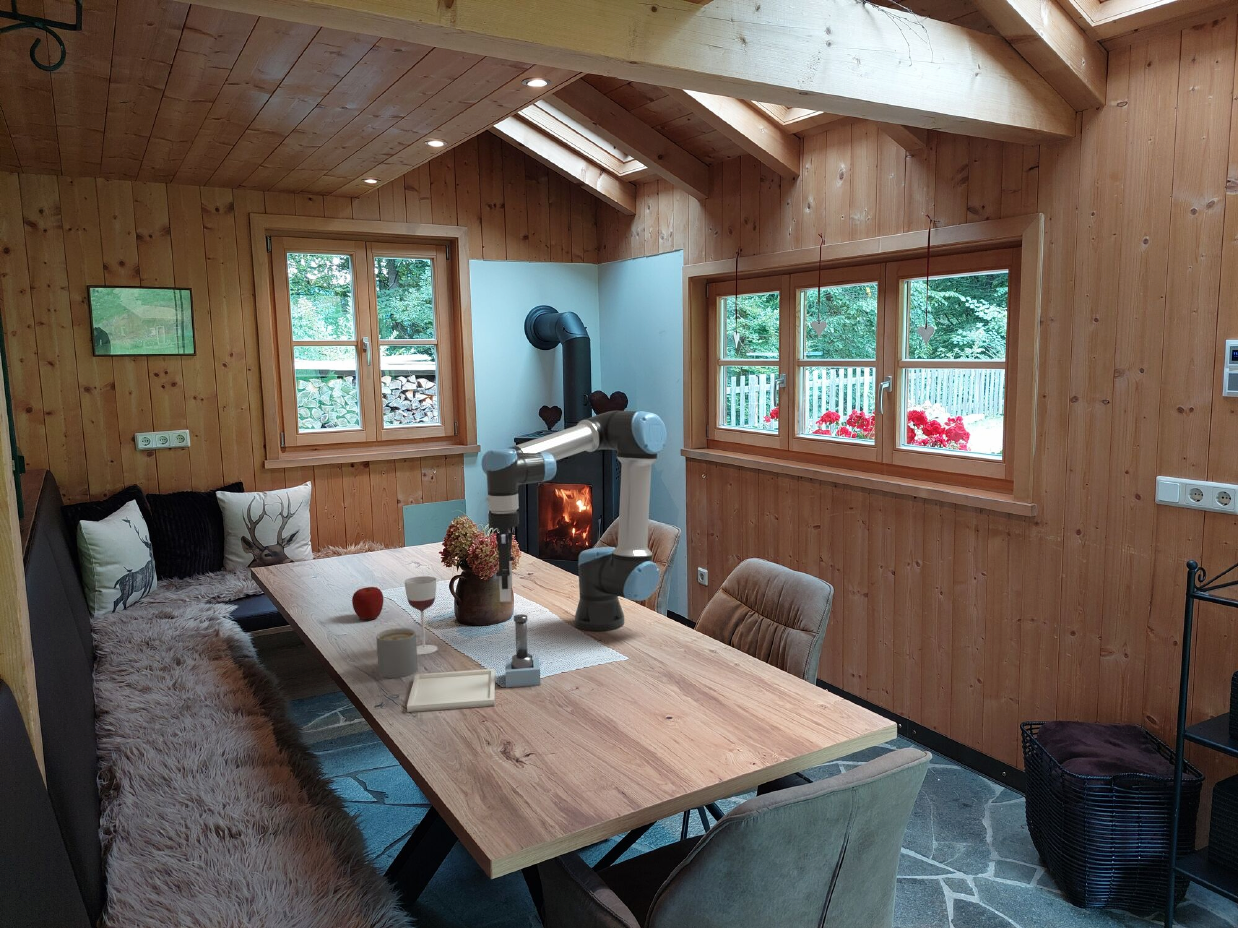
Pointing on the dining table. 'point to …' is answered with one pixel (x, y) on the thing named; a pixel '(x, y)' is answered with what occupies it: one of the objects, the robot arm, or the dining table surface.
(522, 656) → the pestle
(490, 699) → the tray
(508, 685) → the ring
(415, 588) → the wineglass
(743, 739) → the dining table surface
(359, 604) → the apple
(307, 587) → the dining table surface
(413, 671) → the coffee mug
